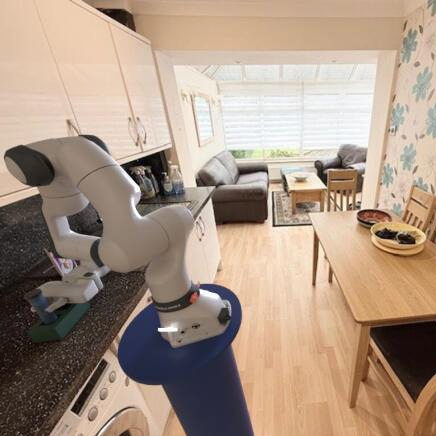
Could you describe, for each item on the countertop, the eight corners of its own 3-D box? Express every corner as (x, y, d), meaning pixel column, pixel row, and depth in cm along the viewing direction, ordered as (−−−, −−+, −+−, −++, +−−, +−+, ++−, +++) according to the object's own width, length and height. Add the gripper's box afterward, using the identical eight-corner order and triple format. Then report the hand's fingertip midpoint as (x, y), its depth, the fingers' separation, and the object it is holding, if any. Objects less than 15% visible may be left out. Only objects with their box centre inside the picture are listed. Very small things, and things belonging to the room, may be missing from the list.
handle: (66, 322, 81) (44, 287, 74) (58, 331, 77) (33, 296, 71) (54, 323, 80) (30, 289, 74) (45, 333, 77) (19, 298, 70)
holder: (90, 305, 89) (84, 295, 87) (62, 339, 76) (54, 328, 74) (67, 308, 88) (61, 298, 86) (35, 343, 75) (26, 332, 73)
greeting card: (69, 281, 103) (52, 252, 96) (48, 286, 100) (29, 257, 94) (80, 267, 112) (65, 239, 106) (61, 271, 110) (44, 243, 104)
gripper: (47, 274, 86) (4, 303, 74) (100, 273, 84) (65, 303, 72) (56, 288, 89) (15, 318, 76) (107, 287, 87) (74, 318, 75)
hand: (40, 310), depth 74 cm, fingers closed on handle, 3 cm apart
